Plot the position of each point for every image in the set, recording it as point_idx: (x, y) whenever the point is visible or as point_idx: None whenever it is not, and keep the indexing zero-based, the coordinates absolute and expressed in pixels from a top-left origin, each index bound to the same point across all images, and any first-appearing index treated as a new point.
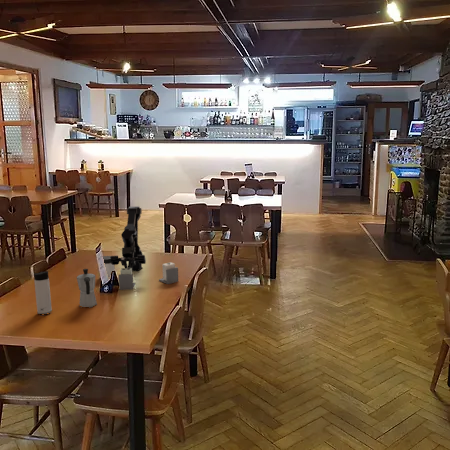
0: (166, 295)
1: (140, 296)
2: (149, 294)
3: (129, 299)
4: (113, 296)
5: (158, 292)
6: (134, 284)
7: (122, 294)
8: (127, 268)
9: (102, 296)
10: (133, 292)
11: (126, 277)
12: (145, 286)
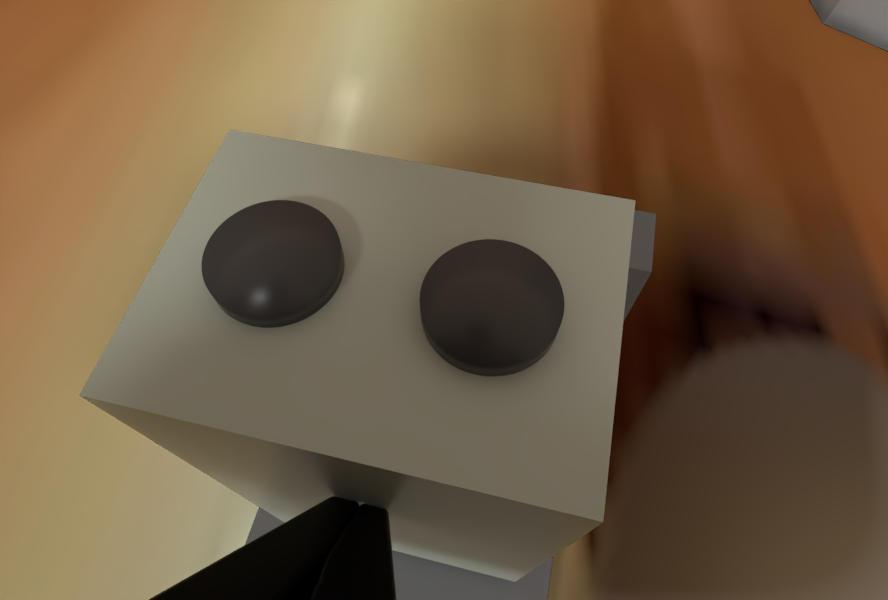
0: (20, 13)
1: (305, 55)
2: (182, 82)
3: (445, 12)
4: (643, 134)
5: (47, 111)
6: (255, 527)
7: (521, 168)
8: (316, 288)
9: (803, 171)
10: None
11: None
12: (87, 416)
